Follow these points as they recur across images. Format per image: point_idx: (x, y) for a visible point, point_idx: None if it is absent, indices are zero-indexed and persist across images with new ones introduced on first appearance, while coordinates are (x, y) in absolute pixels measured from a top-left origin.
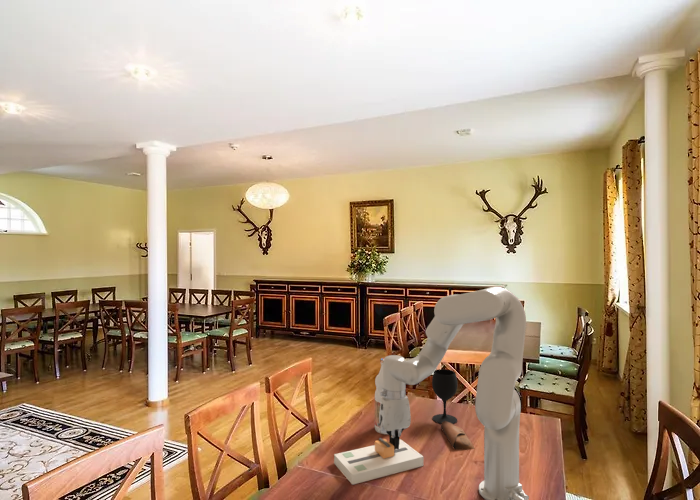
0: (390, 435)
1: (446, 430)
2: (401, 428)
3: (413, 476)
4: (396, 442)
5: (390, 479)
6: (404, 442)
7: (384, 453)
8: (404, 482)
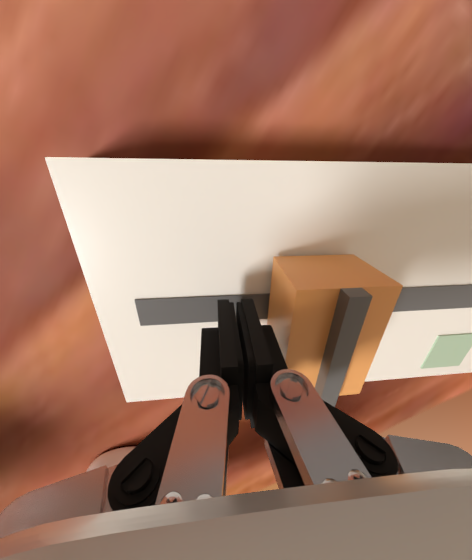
0: (320, 402)
1: None
2: (198, 502)
3: (221, 55)
4: (243, 332)
5: (371, 108)
6: (119, 372)
7: (367, 267)
8: (326, 9)
